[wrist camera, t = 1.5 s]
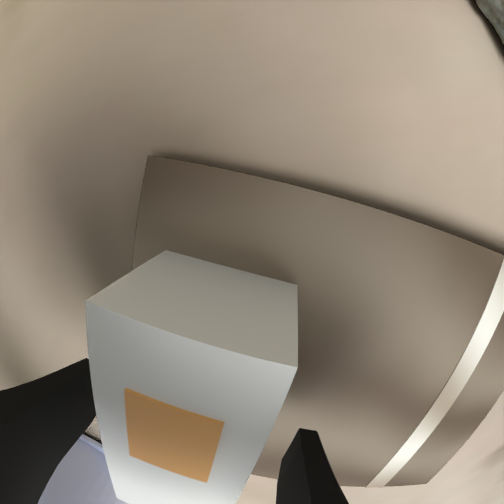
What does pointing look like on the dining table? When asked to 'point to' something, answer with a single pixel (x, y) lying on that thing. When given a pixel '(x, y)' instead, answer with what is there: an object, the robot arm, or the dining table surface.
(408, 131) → the dining table surface
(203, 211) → the subfloor panel
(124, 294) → the block
